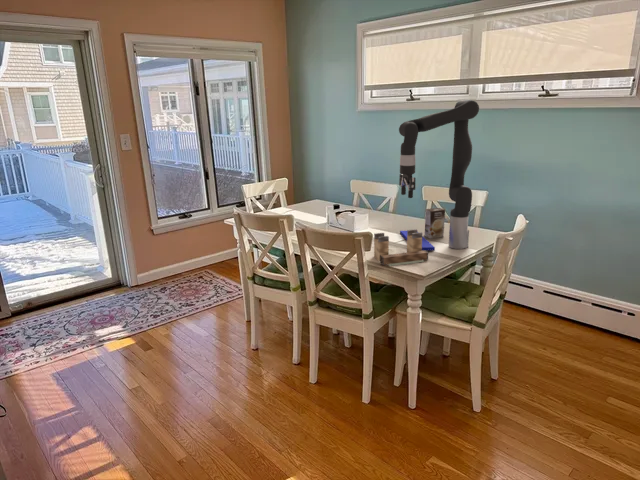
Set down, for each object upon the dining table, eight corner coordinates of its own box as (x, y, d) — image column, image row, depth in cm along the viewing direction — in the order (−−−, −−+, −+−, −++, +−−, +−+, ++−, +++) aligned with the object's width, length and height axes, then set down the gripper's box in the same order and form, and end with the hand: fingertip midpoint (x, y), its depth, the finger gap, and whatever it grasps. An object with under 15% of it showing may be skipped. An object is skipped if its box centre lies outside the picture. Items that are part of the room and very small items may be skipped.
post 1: (383, 255, 229) (383, 232, 226) (388, 260, 223) (388, 236, 219) (374, 256, 228) (374, 233, 225) (379, 261, 222) (379, 237, 218)
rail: (424, 256, 224) (425, 250, 223) (428, 259, 221) (428, 252, 220) (379, 262, 219) (380, 255, 218) (382, 264, 216) (382, 257, 215)
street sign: (415, 253, 233) (434, 251, 233) (416, 247, 232) (434, 246, 233) (400, 234, 266) (416, 233, 266) (400, 229, 265) (416, 228, 265)
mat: (417, 257, 225) (417, 256, 225) (424, 261, 219) (424, 261, 219) (384, 261, 221) (384, 260, 221) (389, 266, 215) (389, 265, 215)
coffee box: (430, 238, 253) (431, 211, 249) (424, 235, 259) (425, 209, 254) (444, 236, 256) (445, 209, 251) (437, 233, 262) (439, 207, 257)
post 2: (415, 251, 233) (416, 229, 229) (421, 256, 227) (422, 232, 223) (406, 252, 232) (407, 230, 228) (412, 257, 226) (413, 233, 222)
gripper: (421, 165, 213) (419, 198, 217) (408, 161, 226) (407, 193, 231) (406, 166, 211) (405, 199, 216) (394, 162, 224) (394, 194, 229)
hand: (406, 196), depth 223 cm, fingers open, 8 cm apart
